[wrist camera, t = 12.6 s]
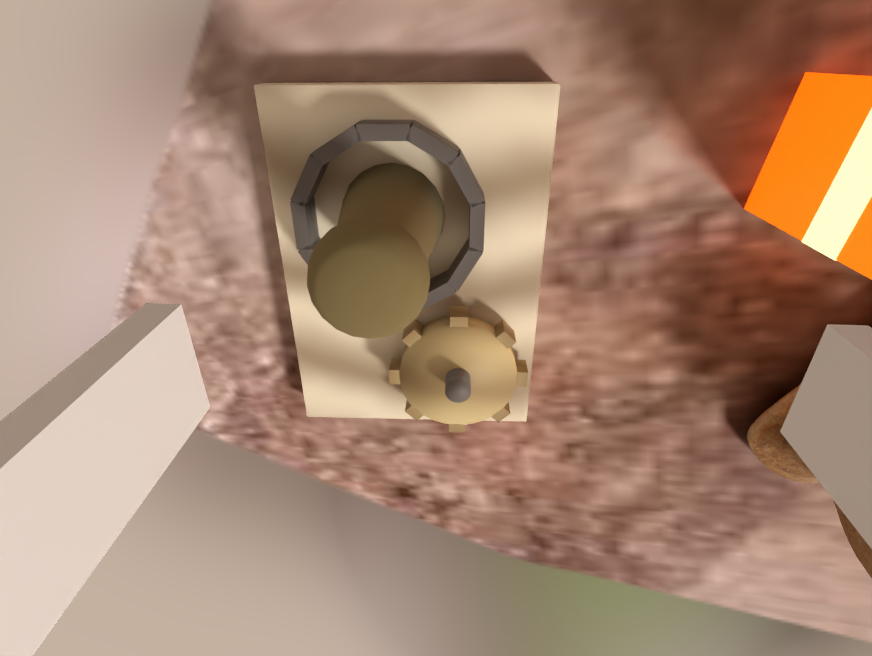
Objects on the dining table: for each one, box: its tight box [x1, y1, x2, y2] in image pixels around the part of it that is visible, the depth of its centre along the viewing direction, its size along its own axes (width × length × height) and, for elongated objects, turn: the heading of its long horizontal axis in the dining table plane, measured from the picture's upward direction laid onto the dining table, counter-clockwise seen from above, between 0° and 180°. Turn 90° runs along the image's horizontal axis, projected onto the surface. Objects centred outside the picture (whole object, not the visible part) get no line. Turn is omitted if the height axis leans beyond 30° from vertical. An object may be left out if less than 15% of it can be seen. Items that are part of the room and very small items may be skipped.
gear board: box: [254, 82, 560, 432], centre depth 31 cm, size 22×16×6 cm
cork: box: [307, 163, 445, 339], centre depth 25 cm, size 6×6×11 cm
